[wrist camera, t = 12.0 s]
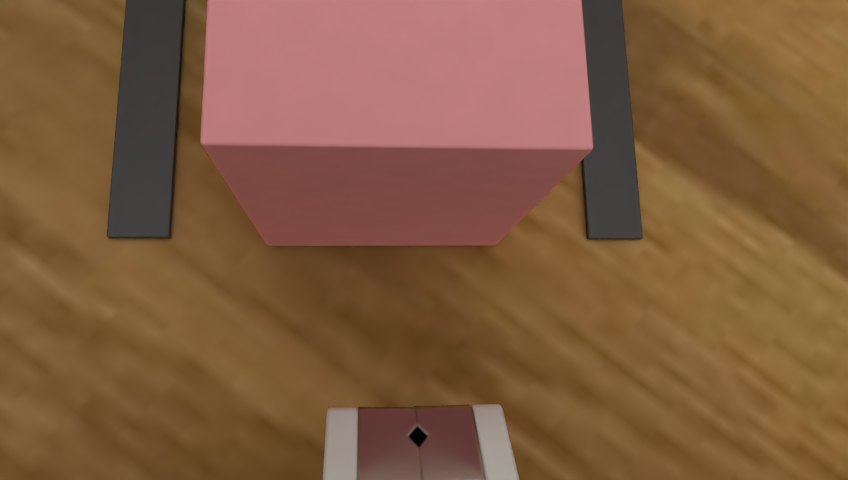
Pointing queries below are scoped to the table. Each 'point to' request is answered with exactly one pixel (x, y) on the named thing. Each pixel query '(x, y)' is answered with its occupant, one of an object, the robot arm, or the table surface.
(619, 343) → the table surface
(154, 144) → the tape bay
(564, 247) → the table surface
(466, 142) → the eraser
